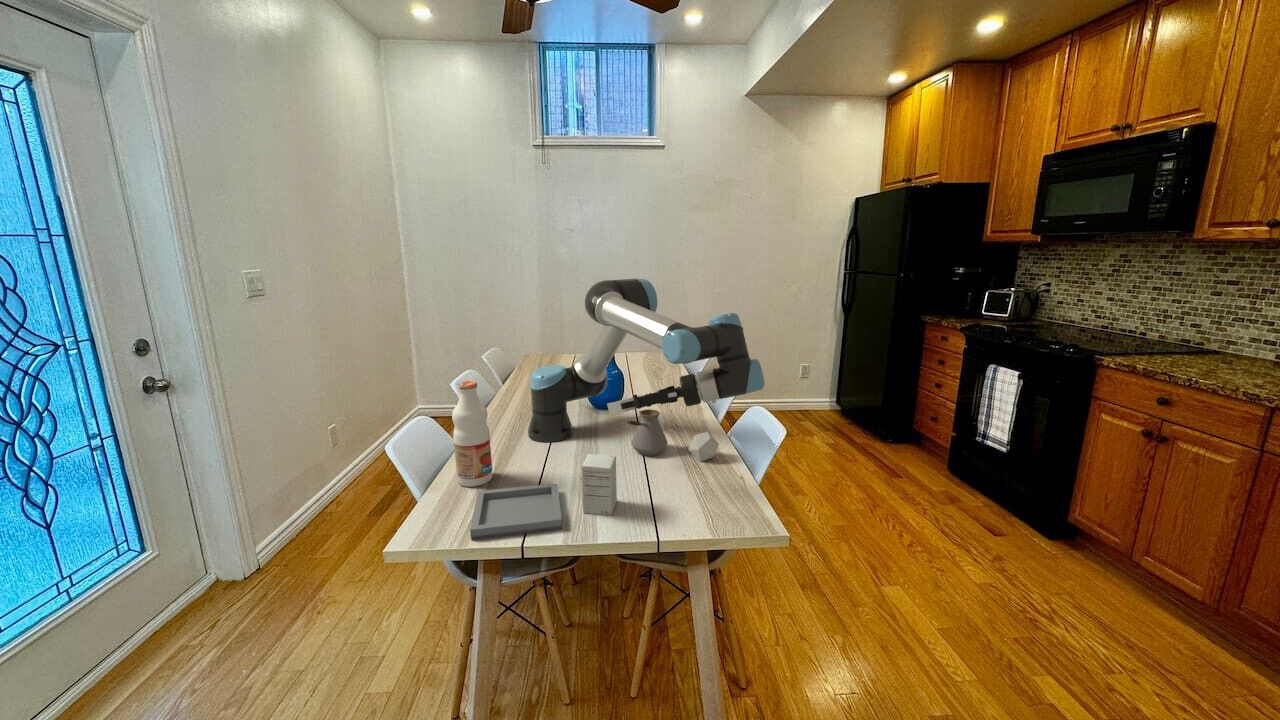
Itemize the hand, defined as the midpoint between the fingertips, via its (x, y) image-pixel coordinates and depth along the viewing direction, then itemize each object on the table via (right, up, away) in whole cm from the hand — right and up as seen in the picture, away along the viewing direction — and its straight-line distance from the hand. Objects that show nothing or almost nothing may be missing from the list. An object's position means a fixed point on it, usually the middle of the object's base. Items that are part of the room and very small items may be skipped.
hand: (615, 407), depth 123 cm
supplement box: (-4, -25, +1) cm, 26 cm away
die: (+26, -19, +29) cm, 43 cm away
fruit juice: (-40, -22, +15) cm, 48 cm away
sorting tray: (-24, -26, -3) cm, 35 cm away
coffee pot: (+7, -18, +30) cm, 36 cm away
